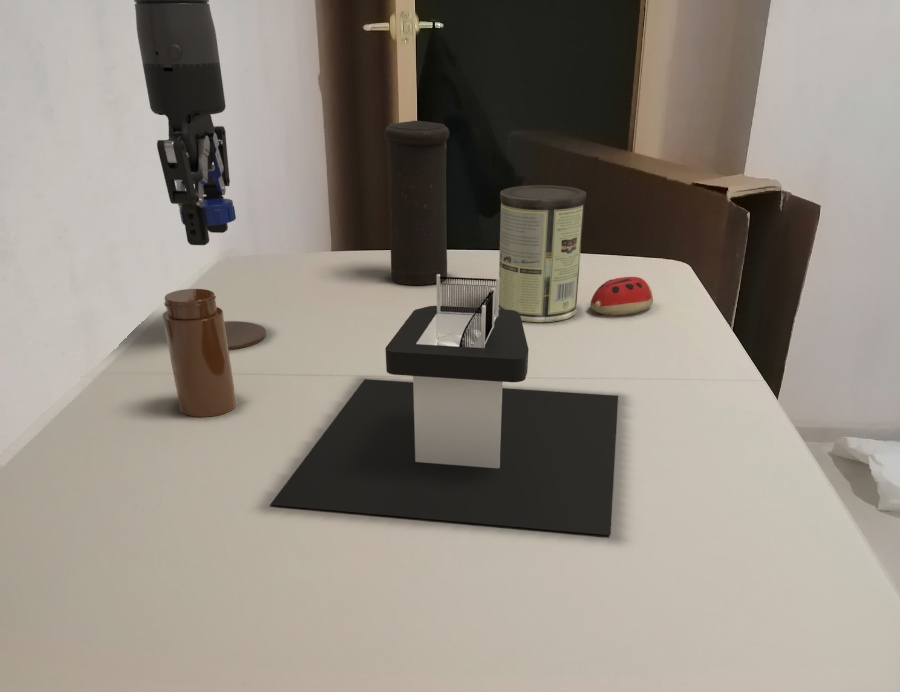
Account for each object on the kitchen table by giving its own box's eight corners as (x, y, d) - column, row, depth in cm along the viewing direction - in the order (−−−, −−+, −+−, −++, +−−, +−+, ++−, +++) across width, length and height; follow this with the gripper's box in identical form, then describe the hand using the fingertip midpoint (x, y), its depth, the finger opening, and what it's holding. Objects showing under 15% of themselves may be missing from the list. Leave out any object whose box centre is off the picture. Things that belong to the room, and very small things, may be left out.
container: (455, 272, 125) (456, 118, 114) (441, 288, 118) (440, 125, 107) (399, 269, 127) (394, 116, 116) (382, 284, 120) (375, 123, 108)
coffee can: (513, 296, 115) (518, 182, 107) (586, 305, 111) (597, 188, 103) (484, 316, 107) (486, 195, 99) (561, 327, 103) (570, 201, 95)
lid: (242, 216, 95) (239, 197, 94) (224, 225, 90) (221, 206, 89) (194, 216, 96) (191, 198, 95) (174, 226, 91) (170, 207, 90)
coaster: (167, 349, 97) (167, 346, 96) (196, 323, 105) (196, 320, 105) (253, 352, 96) (252, 348, 96) (275, 325, 104) (275, 322, 104)
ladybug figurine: (664, 307, 111) (668, 278, 109) (618, 322, 105) (621, 293, 103) (622, 296, 115) (625, 269, 113) (576, 311, 109) (578, 282, 107)
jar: (173, 416, 80) (150, 303, 74) (188, 395, 85) (168, 287, 79) (229, 417, 80) (211, 303, 74) (242, 396, 85) (226, 287, 79)
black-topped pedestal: (610, 536, 62) (632, 357, 54) (270, 506, 66) (246, 334, 58) (618, 396, 84) (634, 256, 77) (364, 380, 88) (356, 245, 81)
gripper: (171, 55, 91) (198, 224, 100) (114, 61, 79) (151, 252, 88) (239, 55, 90) (260, 225, 100) (191, 62, 78) (220, 254, 88)
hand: (208, 237), depth 94 cm, fingers closed on lid, 5 cm apart
